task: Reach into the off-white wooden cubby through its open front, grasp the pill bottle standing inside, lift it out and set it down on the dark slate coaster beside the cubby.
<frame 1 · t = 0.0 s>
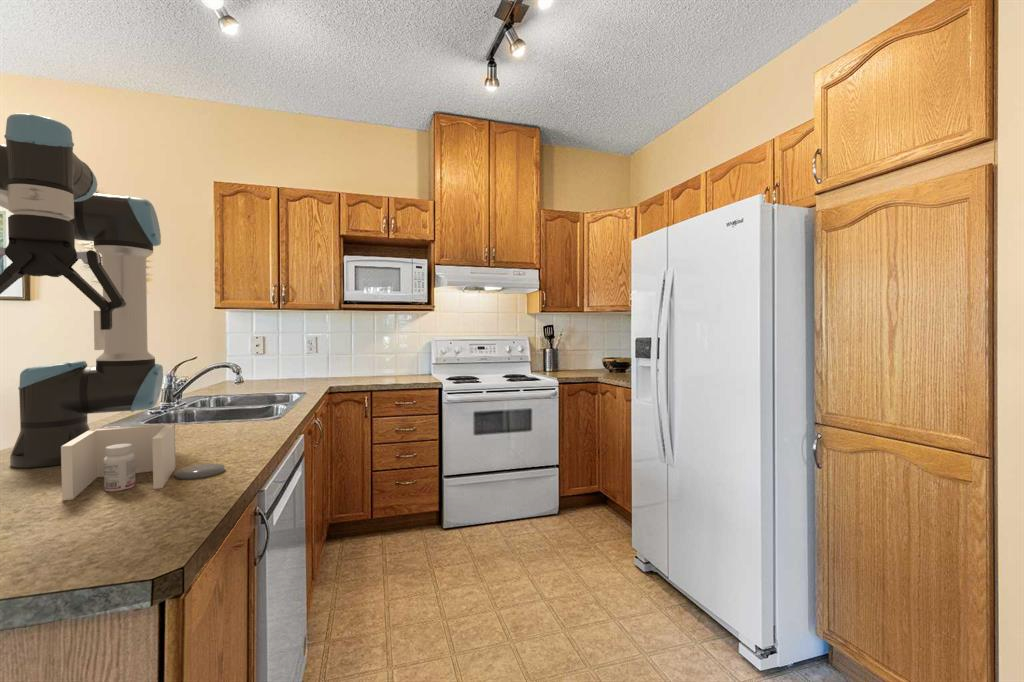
hand: (45, 350, 76), 28 cm above the counter, fingers open, 13 cm apart
cubby: (125, 482, 97), on the counter
pill bottle: (119, 489, 94), on the counter
coaster: (200, 473, 103), on the counter
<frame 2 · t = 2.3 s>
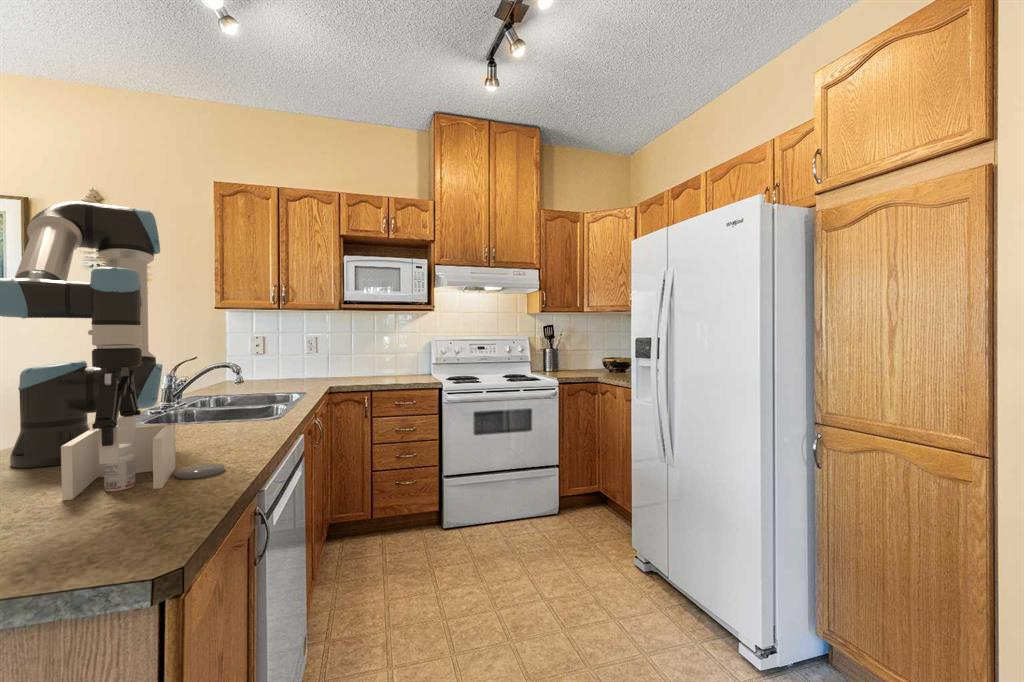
hand: (119, 454, 93), 7 cm above the counter, fingers open, 13 cm apart
nothing on the counter moved.
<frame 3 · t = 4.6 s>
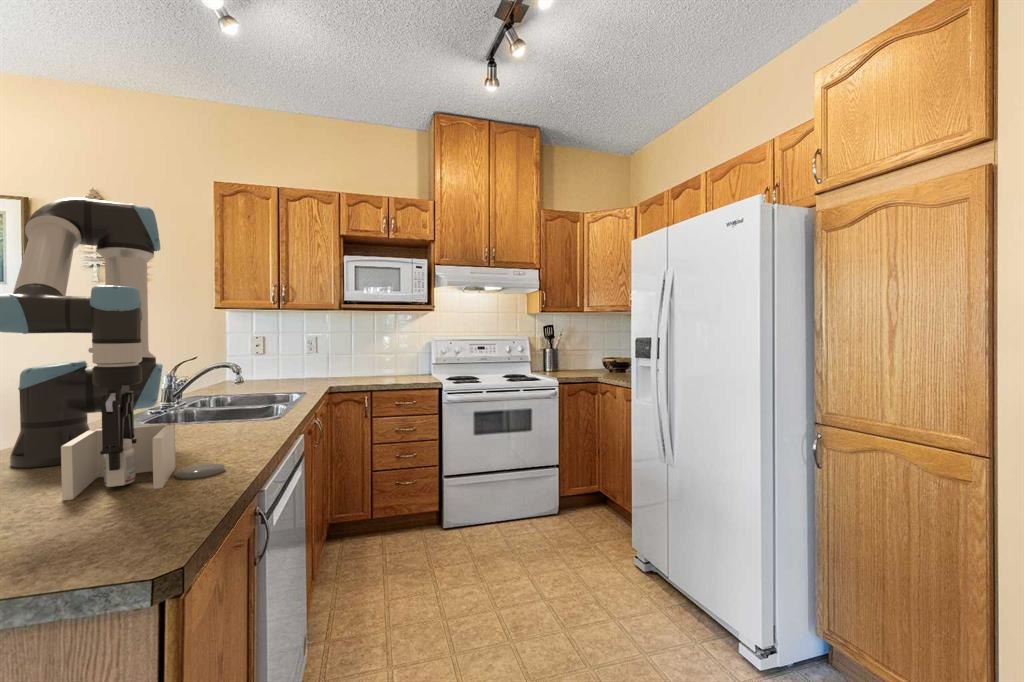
hand: (120, 480, 94), 1 cm above the counter, fingers closed on pill bottle, 5 cm apart
pill bottle: (120, 483, 94), point 1 cm above the counter, touching gripper
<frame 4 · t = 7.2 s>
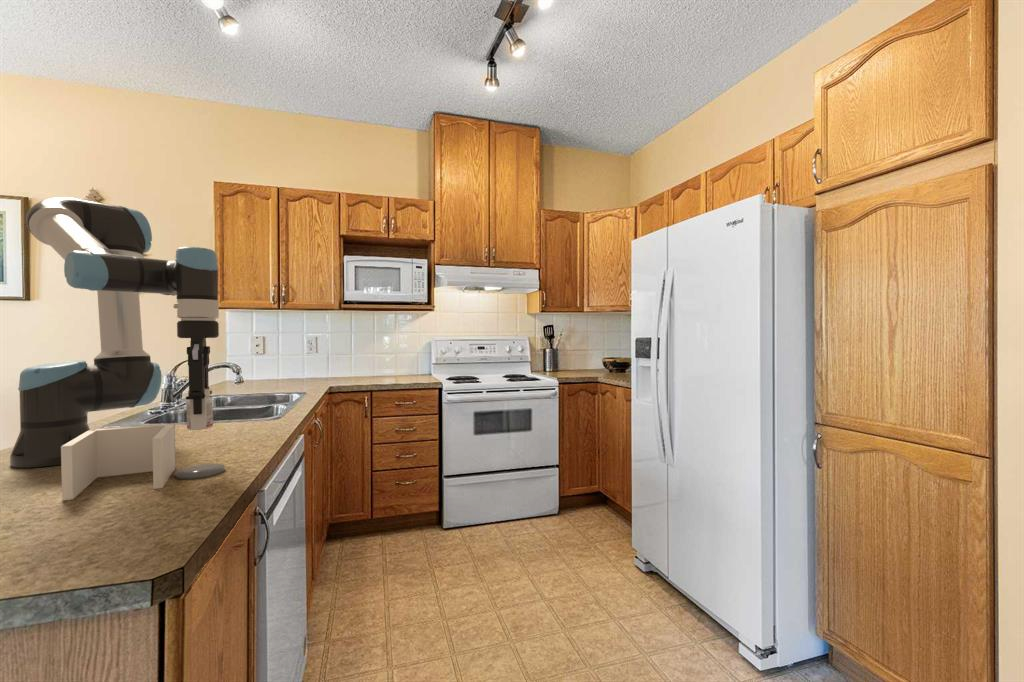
hand: (200, 426, 103), 10 cm above the counter, fingers closed on pill bottle, 5 cm apart
pill bottle: (200, 429, 103), point 10 cm above the counter, touching gripper
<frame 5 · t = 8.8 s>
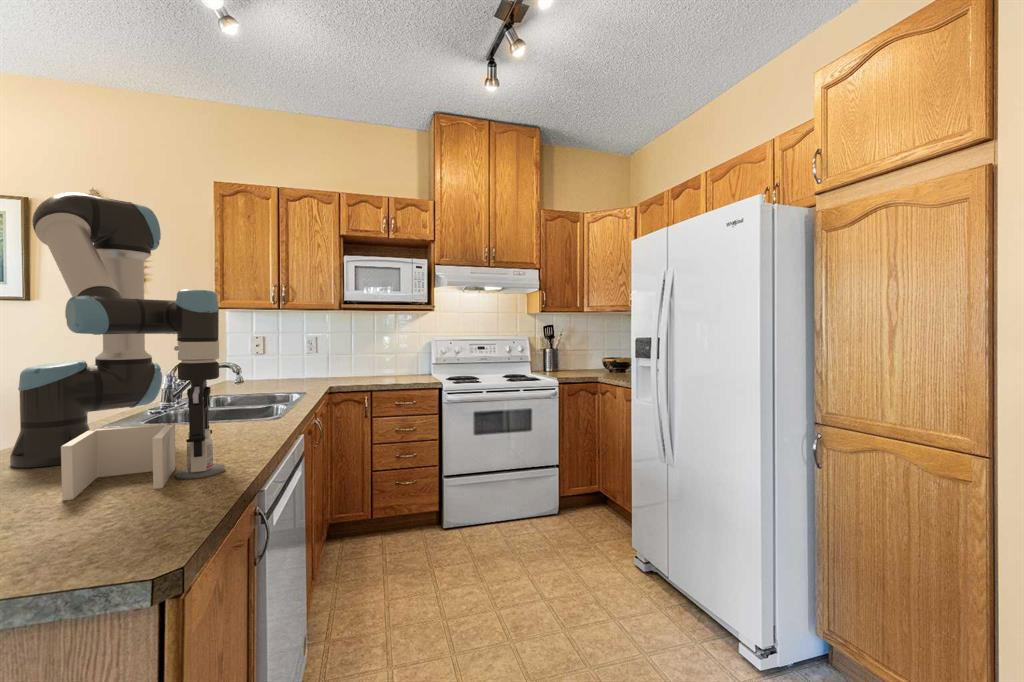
hand: (200, 467, 103), 1 cm above the counter, fingers closed on pill bottle, 5 cm apart
pill bottle: (200, 470, 103), point 1 cm above the counter, touching gripper
when the fingers open (1 cm above the counter, at t = 9.4 s): pill bottle stays where it is, resting on coaster.
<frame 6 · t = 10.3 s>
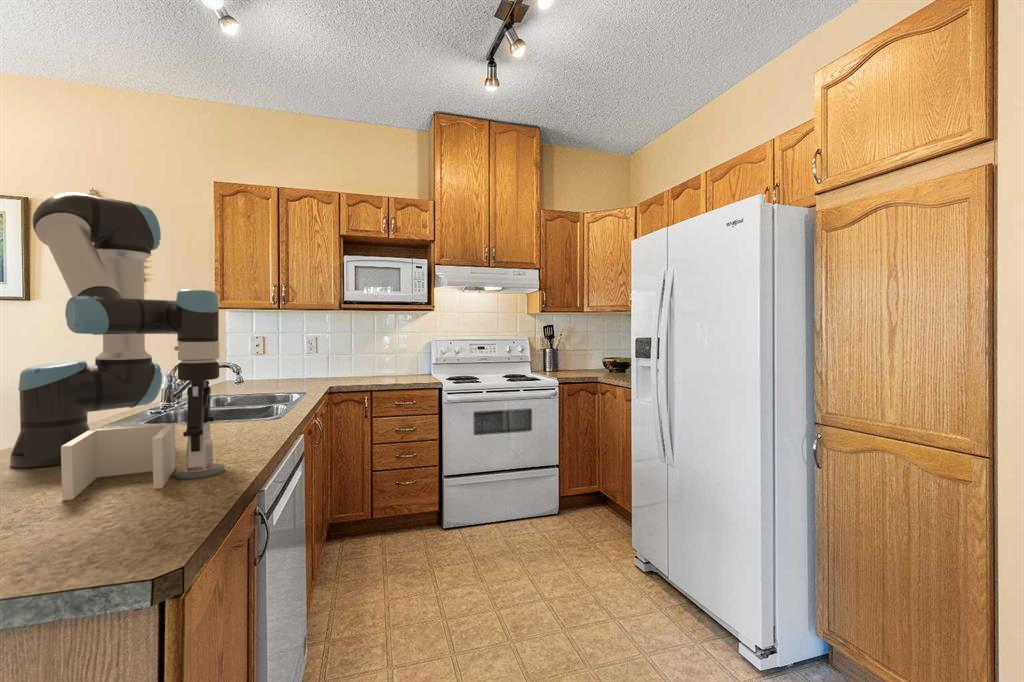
hand: (200, 458, 103), 3 cm above the counter, fingers open, 13 cm apart
pill bottle: (200, 470, 103), point 1 cm above the counter, touching coaster
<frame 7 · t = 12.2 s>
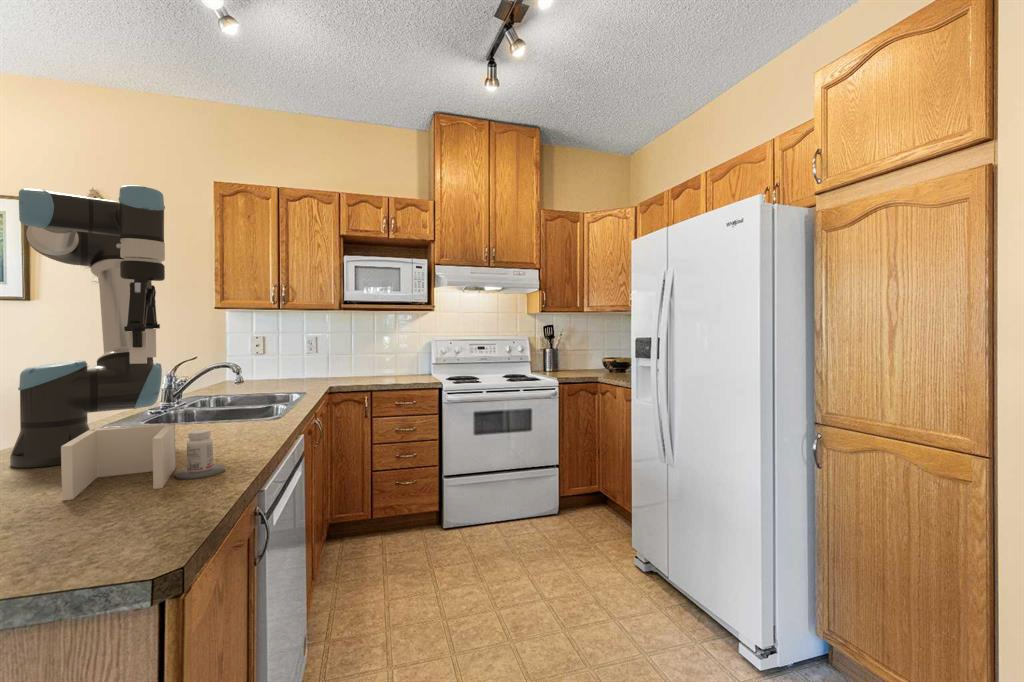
hand: (143, 360, 102), 25 cm above the counter, fingers open, 13 cm apart
nothing on the counter moved.
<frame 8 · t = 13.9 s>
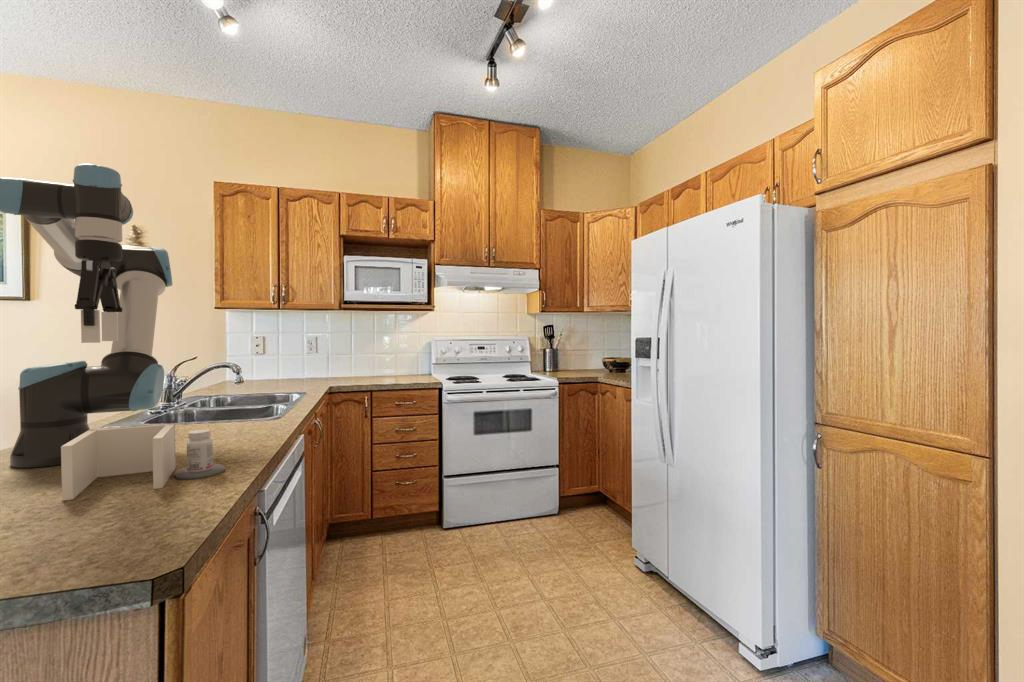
hand: (101, 342, 100), 29 cm above the counter, fingers open, 13 cm apart
nothing on the counter moved.
at the end: pill bottle 0.1 cm from the coaster (horizontally); pill bottle tilted 0°; the gripper is holding nothing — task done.
